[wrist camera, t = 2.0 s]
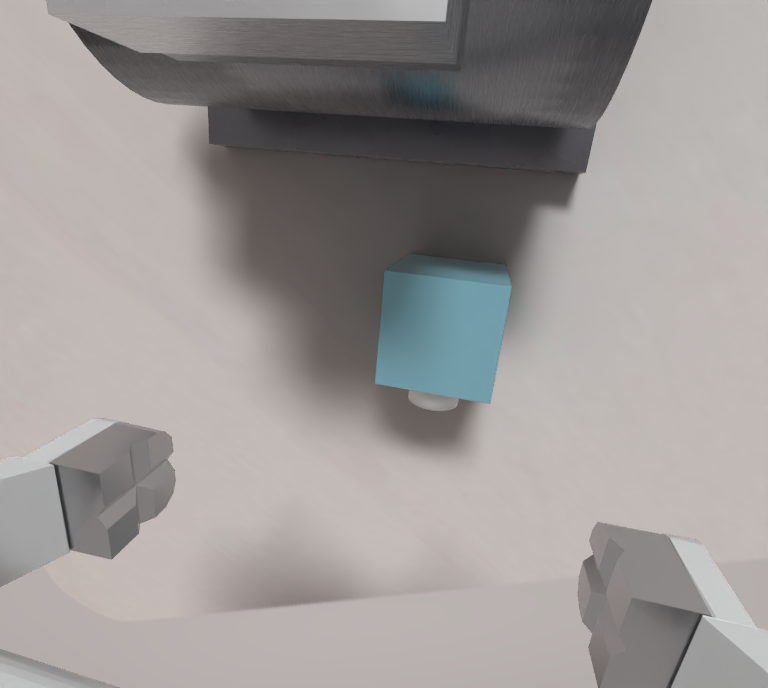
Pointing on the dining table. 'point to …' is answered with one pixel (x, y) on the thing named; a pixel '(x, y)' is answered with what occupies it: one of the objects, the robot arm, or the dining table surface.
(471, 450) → the dining table surface
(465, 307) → the blue block
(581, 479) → the dining table surface
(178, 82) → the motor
